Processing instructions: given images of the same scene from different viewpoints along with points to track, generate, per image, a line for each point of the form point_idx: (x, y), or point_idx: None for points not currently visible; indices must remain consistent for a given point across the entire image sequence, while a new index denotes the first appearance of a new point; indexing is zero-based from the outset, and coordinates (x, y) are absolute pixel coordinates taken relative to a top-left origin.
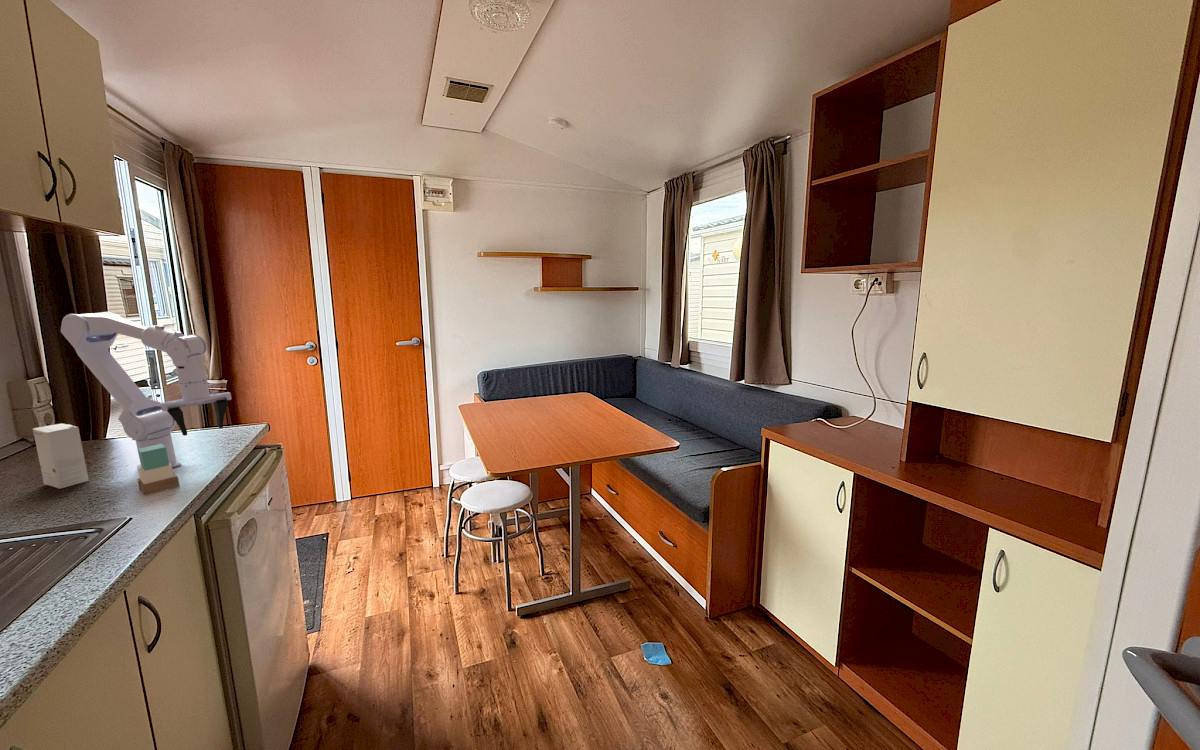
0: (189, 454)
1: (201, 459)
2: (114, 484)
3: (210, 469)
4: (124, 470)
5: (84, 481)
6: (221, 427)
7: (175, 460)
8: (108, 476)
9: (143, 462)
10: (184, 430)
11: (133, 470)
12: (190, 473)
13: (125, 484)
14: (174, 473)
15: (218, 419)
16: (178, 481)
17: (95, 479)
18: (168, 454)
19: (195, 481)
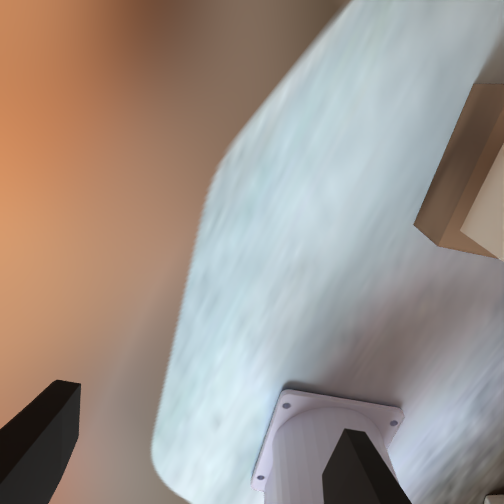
0: (197, 483)
1: (201, 394)
2: (501, 395)
3: (253, 216)
4: None
5: (498, 496)
6: (64, 384)
7: (285, 432)
8: (441, 486)
9: None
10: (380, 474)
11: None
12: (326, 249)
13: (495, 360)
14: (476, 166)
15: (22, 494)
16: (491, 84)
17: (472, 491)
18: (320, 455)
19: (397, 79)
